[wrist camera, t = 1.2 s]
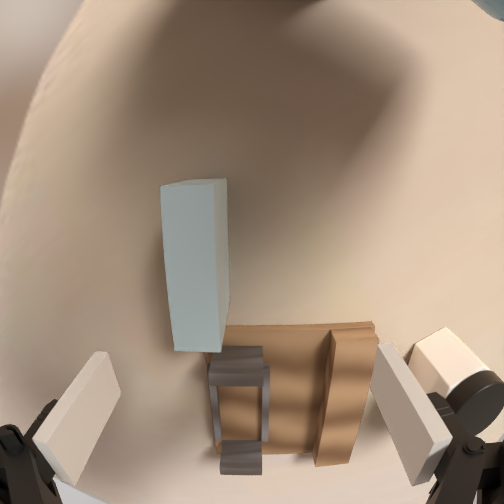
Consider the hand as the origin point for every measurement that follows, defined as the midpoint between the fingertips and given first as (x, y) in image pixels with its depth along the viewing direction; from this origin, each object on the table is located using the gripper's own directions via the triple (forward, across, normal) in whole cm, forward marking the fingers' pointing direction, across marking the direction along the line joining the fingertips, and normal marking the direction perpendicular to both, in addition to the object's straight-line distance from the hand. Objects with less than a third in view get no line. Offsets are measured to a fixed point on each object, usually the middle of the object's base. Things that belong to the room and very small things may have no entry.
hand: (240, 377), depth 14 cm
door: (+18, -4, +2) cm, 18 cm away
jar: (+18, +23, -14) cm, 32 cm away
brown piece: (+18, +4, -17) cm, 25 cm away
